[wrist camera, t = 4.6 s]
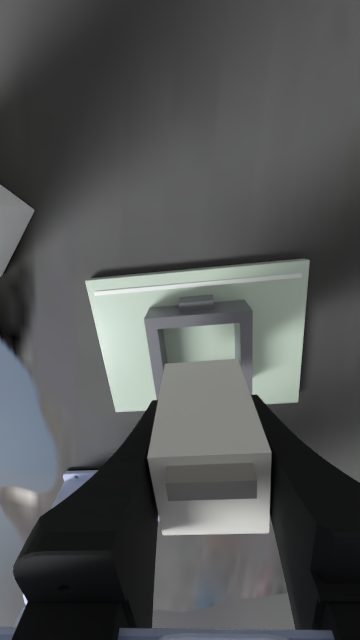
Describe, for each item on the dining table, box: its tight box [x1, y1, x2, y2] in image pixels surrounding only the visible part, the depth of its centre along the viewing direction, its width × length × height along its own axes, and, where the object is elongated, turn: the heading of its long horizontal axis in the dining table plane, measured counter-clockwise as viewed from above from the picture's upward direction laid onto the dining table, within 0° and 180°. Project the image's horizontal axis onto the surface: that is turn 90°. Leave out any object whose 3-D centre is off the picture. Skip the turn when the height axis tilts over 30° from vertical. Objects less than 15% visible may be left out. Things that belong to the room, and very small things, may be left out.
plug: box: [147, 359, 272, 535], centre depth 11 cm, size 4×4×7 cm
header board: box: [85, 258, 310, 412], centre depth 19 cm, size 16×12×4 cm
